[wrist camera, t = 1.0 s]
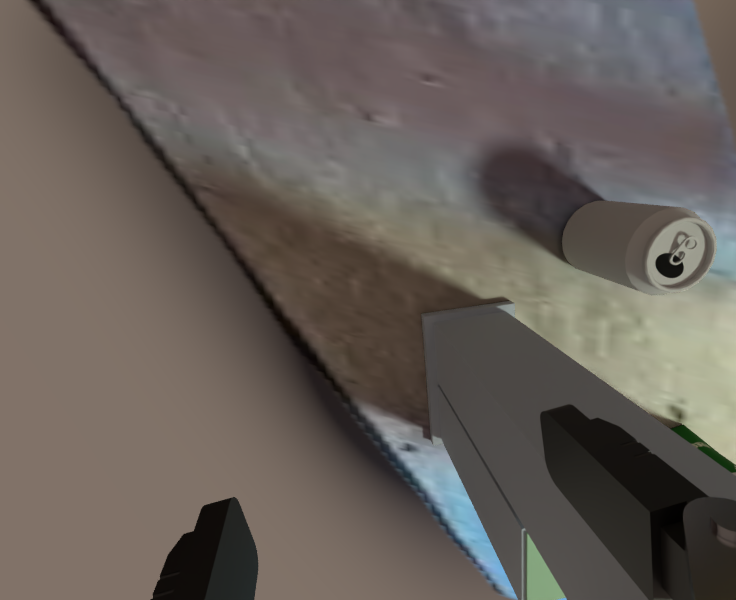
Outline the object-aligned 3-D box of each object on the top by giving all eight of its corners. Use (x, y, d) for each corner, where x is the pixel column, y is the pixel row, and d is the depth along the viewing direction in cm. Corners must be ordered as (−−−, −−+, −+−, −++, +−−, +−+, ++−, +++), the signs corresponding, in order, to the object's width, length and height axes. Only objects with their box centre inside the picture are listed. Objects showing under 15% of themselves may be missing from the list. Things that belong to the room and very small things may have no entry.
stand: (421, 313, 45) (640, 599, 15) (510, 300, 46) (890, 545, 16) (430, 440, 50) (611, 853, 20) (511, 426, 51) (805, 802, 20)
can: (543, 250, 45) (621, 277, 34) (583, 186, 44) (679, 191, 32) (596, 281, 47) (687, 315, 35) (636, 220, 45) (745, 236, 34)
